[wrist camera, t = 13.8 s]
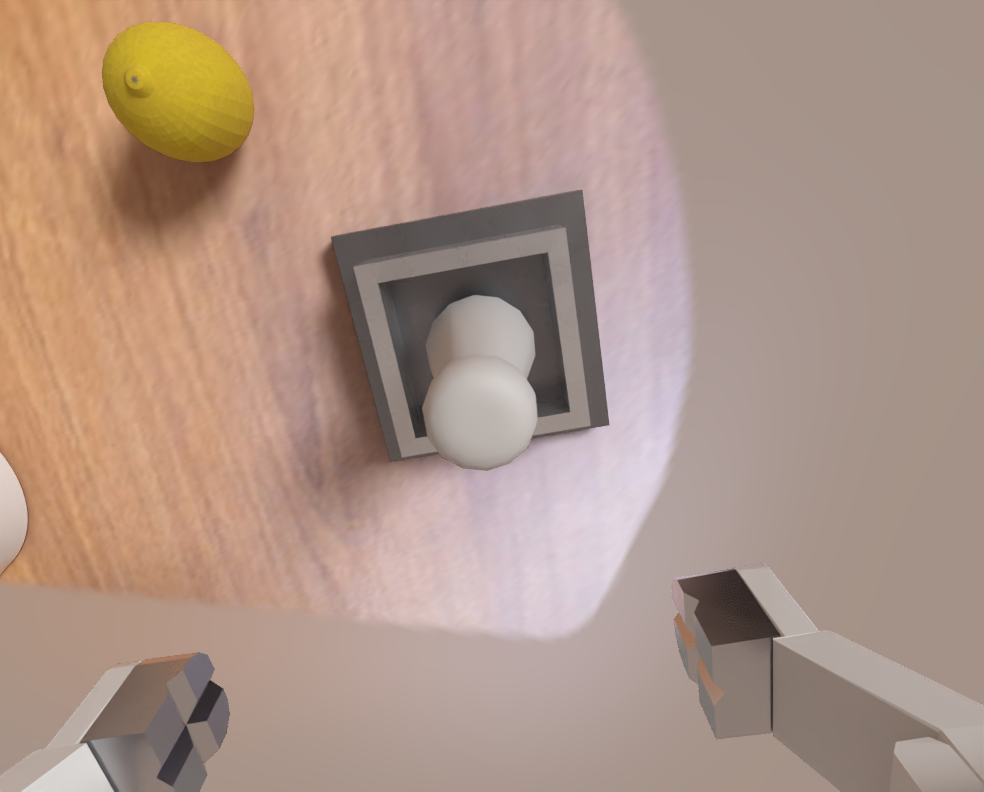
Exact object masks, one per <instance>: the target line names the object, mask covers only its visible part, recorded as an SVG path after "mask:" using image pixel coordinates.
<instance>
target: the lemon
mask: <svg viewBox="0 0 984 792" xmlns="http://www.w3.org/2000/svg"><path fill="white" fill-rule="evenodd" d="M102 78H103V88H104V91H105V94H106V97H107V100H108V103H109V105H110V107H111V108H112V110H113V112H114V114H115V115H116V117H117V118H118V120H119V121H120V122H121V123H122V124H123V125H124V127H125V128H126V129H127V130H128V131H129V132H130V133H131V134H132V135H133V136H134V137H136V138H137V139H138V140H140V141H141V142H142V143H144V144H145V145H146V146H148V147H150V148H151V149H153V150H155V151H158V152H160V153H162V154H164V155H166V156H169V157H171V158H174V159H179V160H184V161H190V162H206V161H215V160H217V159H220V158H223V157H225V156H228V155H230V154H231V153H232V152H234V151H235V150H236V149H238V148H239V147H240V146H241V145H242V144H243V142H244V141H245V139H246V138H247V137H248V135H249V132H250V129H251V127H252V124H253V117H254V103H253V95H252V91H251V89H250V86H249V83H248V81H247V78H246V76H245V75H244V73H243V71H242V70H241V68H240V67H239V65H238V64H237V62H236V61H235V60H234V59H233V58H232V56H231V55H230V54H229V53H228V52H227V51H226V50H225V49H224V48H223V47H222V46H221V45H219V44H218V43H216V42H215V41H213V40H212V39H210V38H209V37H207V36H206V35H204V34H202V33H201V32H199V31H197V30H194V29H191V28H188V27H185V26H182V25H179V24H175V23H165V22H146V23H142V24H138V25H134V26H132V27H130V28H128V29H126V30H125V31H123V32H122V33H120V34H118V35H117V37H116V38H115V39H114V40H113V41H112V43H111V44H110V45H109V47H108V50H107V52H106V54H105V57H104V60H103V68H102Z"/></svg>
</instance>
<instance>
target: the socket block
mask: <svg viewBox="0 0 984 792" xmlns="http://www.w3.org/2000/svg"><path fill="white" fill-rule="evenodd" d="M331 239H332V243H333V246H334V250H335V254H336V258H337V262H338V265H339V269H340V273H341V277H342V280H343V284H344V288H345V292H346V296H347V299H348V303H349V307H350V311H351V315H352V318H353V322H354V326H355V330H356V333H357V337H358V341H359V345H360V349H361V352H362V356H363V360H364V364H365V368H366V371H367V375H368V379H369V383H370V387H371V390H372V394H373V398H374V402H375V405H376V409H377V413H378V417H379V421H380V424H381V428H382V432H383V436H384V440H385V443H386V447H387V451H388V455H389V458H390V462H392V461H398V460H404V459H410V458H416V457H422V456H428V455H434V454H439V453H438V451H437V450H436V449H435V447H434V446H433V444H432V443H431V442H430V440H429V439H428V436H427V431H426V426H425V421H424V415H423V410H422V407H423V404H424V401H425V398H426V395H427V392H428V389H429V386H430V384H431V382H432V380H433V379H434V377H433V375H432V372H431V370H430V366H429V361H428V355H427V350H426V342H427V339H428V336H429V333H430V330H431V327H432V323H433V321H434V320H435V319H436V318H437V317H438V316H439V315H440V314H441V313H442V312H443V311H444V310H445V309H446V307H447V306H448V305H449V304H451V303H453V302H456V301H459V300H461V299H464V298H467V297H470V296H472V295H480V296H490V297H498V298H500V299H502V300H503V301H505V302H507V303H508V304H510V305H512V306H513V307H515V308H516V309H518V310H520V311H521V313H522V315H523V316H524V318H525V319H526V321H527V322H528V324H529V326H530V327H531V329H532V330H533V333H534V344H535V358H534V361H533V364H532V366H531V369H530V372H529V375H528V377H527V381H528V382H529V384H530V385H531V387H532V388H533V390H534V392H535V395H536V405H537V416H538V420H537V424H536V427H535V430H534V432H533V435H532V438H535V437H541V436H547V435H553V434H559V433H565V432H571V431H577V430H583V429H589V428H595V427H601V426H607V425H609V418H608V410H607V401H606V392H605V383H604V375H603V366H602V357H601V349H600V340H599V331H598V323H597V314H596V305H595V296H594V288H593V279H592V270H591V262H590V253H589V244H588V236H587V227H586V218H585V210H584V201H583V192H582V190H576V191H571V192H565V193H560V194H555V195H549V196H544V197H539V198H533V199H528V200H523V201H517V202H512V203H507V204H501V205H496V206H491V207H485V208H480V209H474V210H469V211H464V212H458V213H453V214H448V215H442V216H437V217H432V218H426V219H421V220H416V221H410V222H405V223H400V224H394V225H389V226H383V227H378V228H373V229H367V230H362V231H357V232H351V233H346V234H341V235H336V236H333V237H331Z"/></svg>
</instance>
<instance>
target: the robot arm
mask: <svg viewBox="0 0 984 792" xmlns="http://www.w3.org/2000/svg"><path fill="white" fill-rule="evenodd" d="M27 522H28V516H27V507H26V502H25V497H24V494H23V491H22V488H21V486H20V483H19V481H18V479H17V477H16V475H15V473H14V472H13V470H12V468H11V467H10V465H9V463H8V462H7V461H6V459H5V458H4V456H3V455H2V454H1V453H0V575H1V573H2V572H3V571H4V570H5V568H6V567H7V566H8V565H9V564H10V563H11V562H12V561H13V560H14V558H15V557H16V556H17V554H18V553H19V551H20V549H21V547H22V545H23V542H24V540H25V536H26V532H27ZM672 598H673V600H674V602H675V605H676V607H677V609H678V611H679V613H678V614H677V616H676V617H675V619H674V624H675V633H676V639H677V643H678V648H679V652H680V655H681V658H682V661H683V664H684V667H685V669H686V672H687V674H688V676H689V678H690V679H691V680H693V681H694V682H696V683H697V684H698V687H699V700H700V704H701V706H702V708H703V711H704V713H705V715H706V717H707V720H708V722H709V724H710V726H711V729H712V731H713V733H714V735H715V737H716V739H723V738H732V737H741V736H749V735H758V734H767V733H773V736H774V737H775V738H777V739H778V740H779V741H780V742H781V743H783V744H784V745H785V746H786V747H787V748H789V749H790V750H791V751H792V752H793V753H795V754H796V755H797V756H798V757H800V758H801V759H802V760H803V761H804V762H806V763H807V764H808V765H809V766H810V767H812V768H813V769H814V770H815V771H817V772H818V773H819V774H820V775H821V776H823V777H824V778H825V779H826V780H828V781H829V782H830V783H831V784H833V785H834V786H835V787H836V788H837V789H838V790H840V791H841V792H984V706H983V705H981V704H979V703H977V702H975V701H973V700H971V699H969V698H967V697H965V696H963V695H961V694H959V693H957V692H954V691H952V690H950V689H948V688H946V687H944V686H942V685H940V684H938V683H936V682H934V681H932V680H930V679H928V678H926V677H924V676H922V675H920V674H918V673H916V672H914V671H912V670H910V669H907V668H905V667H903V666H901V665H899V664H897V663H895V662H893V661H891V660H889V659H887V658H885V657H883V656H881V655H879V654H877V653H875V652H873V651H870V650H868V649H866V648H864V647H862V646H860V645H858V644H856V643H854V642H852V641H850V640H848V639H846V638H844V637H842V636H840V635H838V634H836V633H834V632H832V631H830V630H826V631H819V630H818V629H817V628H816V627H815V625H814V624H813V623H812V622H811V620H810V619H809V618H808V617H807V615H806V614H805V613H804V612H803V610H802V609H801V608H800V606H799V605H798V604H797V603H796V602H795V600H794V599H793V598H792V597H791V595H790V594H789V593H788V591H787V590H786V589H785V588H784V586H783V585H782V584H781V583H780V581H779V580H778V579H777V578H776V576H775V575H774V574H773V572H772V571H771V570H770V569H769V567H768V566H767V565H765V564H763V563H756V564H751V565H745V566H740V567H734V568H732V569H727V570H720V571H715V572H709V573H702V574H697V575H690V576H684V577H678V578H673V579H672ZM213 672H214V667H213V665H212V663H211V661H210V659H209V657H208V655H207V654H203V653H192V654H183V655H176V656H168V657H160V658H153V659H146V660H144V661H134V662H127V663H119V664H117V665H115V666H113V667H111V668H109V669H108V670H107V671H106V672H105V673H104V675H103V676H102V677H101V678H100V680H99V681H98V682H97V684H96V685H95V686H94V687H93V689H92V690H91V691H90V692H89V694H88V695H87V696H86V697H85V699H84V700H83V701H82V703H81V704H80V705H79V706H78V708H77V709H76V710H75V711H74V713H73V714H72V715H71V716H70V718H69V719H68V720H67V722H66V723H65V724H64V725H63V727H62V728H61V729H60V731H59V732H58V733H57V734H56V735H55V737H54V738H53V739H52V740H51V742H50V743H49V745H48V746H47V747H46V748H45V749H42V750H36V751H34V752H33V753H31V754H30V755H28V756H27V757H26V758H24V759H23V760H22V761H20V762H19V763H17V764H16V765H15V766H13V767H12V768H10V769H9V770H8V771H6V772H5V773H3V774H2V775H1V776H0V792H200V790H201V787H202V785H203V783H204V781H205V779H206V777H207V771H206V767H205V764H204V763H205V762H206V761H207V760H208V759H209V758H210V757H212V756H213V755H214V754H215V753H216V752H217V751H218V750H219V749H220V747H221V744H222V742H223V740H224V738H225V735H226V733H227V728H228V721H229V715H230V712H229V705H228V699H227V697H226V694H225V692H224V689H223V688H221V687H220V686H218V685H217V684H215V683H214V682H212V681H211V680H210V679H211V677H212V674H213Z"/></svg>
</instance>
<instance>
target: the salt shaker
mask: <svg viewBox="0 0 984 792" xmlns="http://www.w3.org/2000/svg"><path fill="white" fill-rule="evenodd" d="M426 350H427V355H428V361H429V366H430V370H431V372H432V375H433V377H434V379H433V380H432V382H431V384H430V386H429V389H428V392H427V395H426V398H425V401H424V404H423V407H422V410H423V415H424V421H425V426H426V431H427V436H428V439H429V440H430V442H431V443H432V444H433V446H434V447H435V449H436V450H437V451H438V453H439V454H440V455H441V457H442V458H444V459H446V460H448V461H450V462H452V463H454V464H456V465H458V466H460V467H462V468H465V469H476V470H486V471H488V470H491V469H494V468H497V467H499V466H502V465H505V464H508V463H511V462H512V461H513V460H514V459H515V458H516V457H517V456H518V455H520V454H521V453H522V452H523V451H524V450H525V449H526V448H527V447H528V446H529V443H530V440H531V438H532V435H533V432H534V430H535V427H536V424H537V420H538V416H537V405H536V395H535V392H534V390H533V388H532V387H531V385H530V384H529V382H528V381H527V377H528V375H529V372H530V369H531V366H532V364H533V361H534V358H535V344H534V333H533V330H532V329H531V327H530V326H529V324H528V322H527V321H526V319H525V318H524V316H523V315H522V313H521V311H520V310H518V309H516V308H515V307H513V306H512V305H510V304H508V303H507V302H505V301H503V300H502V299H500V298H498V297H490V296H480V295H472V296H470V297H467V298H464V299H461V300H459V301H456V302H453V303H451V304H449V305H448V306H447V307H446V309H445V310H444V311H443V312H442V313H441V314H440V315H439V316H438V317H437V318H436V319H435V320H434V321H433V323H432V327H431V330H430V333H429V336H428V339H427V342H426Z"/></svg>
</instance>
